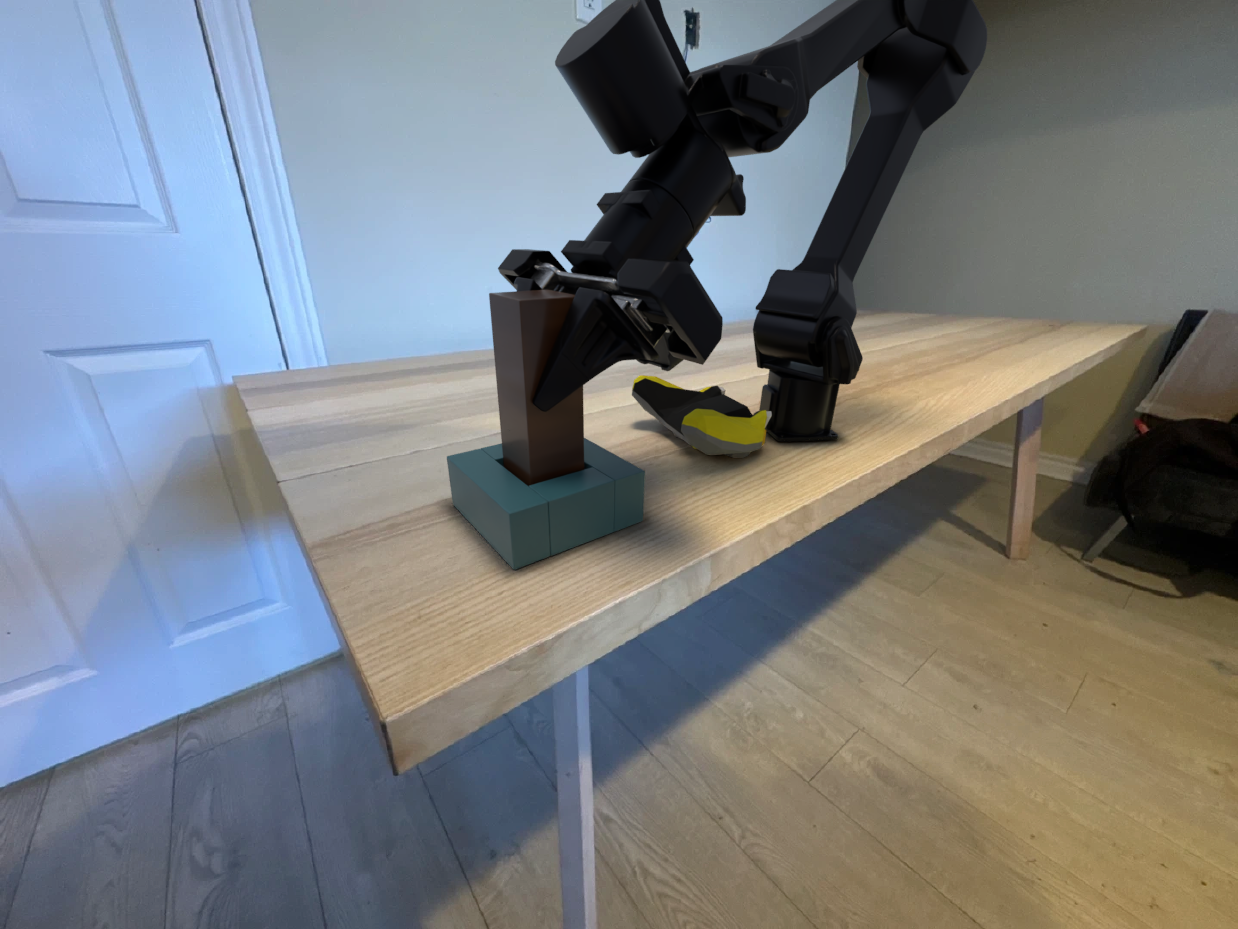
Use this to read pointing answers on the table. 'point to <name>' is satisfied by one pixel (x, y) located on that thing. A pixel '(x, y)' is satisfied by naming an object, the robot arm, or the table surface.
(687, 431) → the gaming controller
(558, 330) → the pad post
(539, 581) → the table surface
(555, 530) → the base pad
